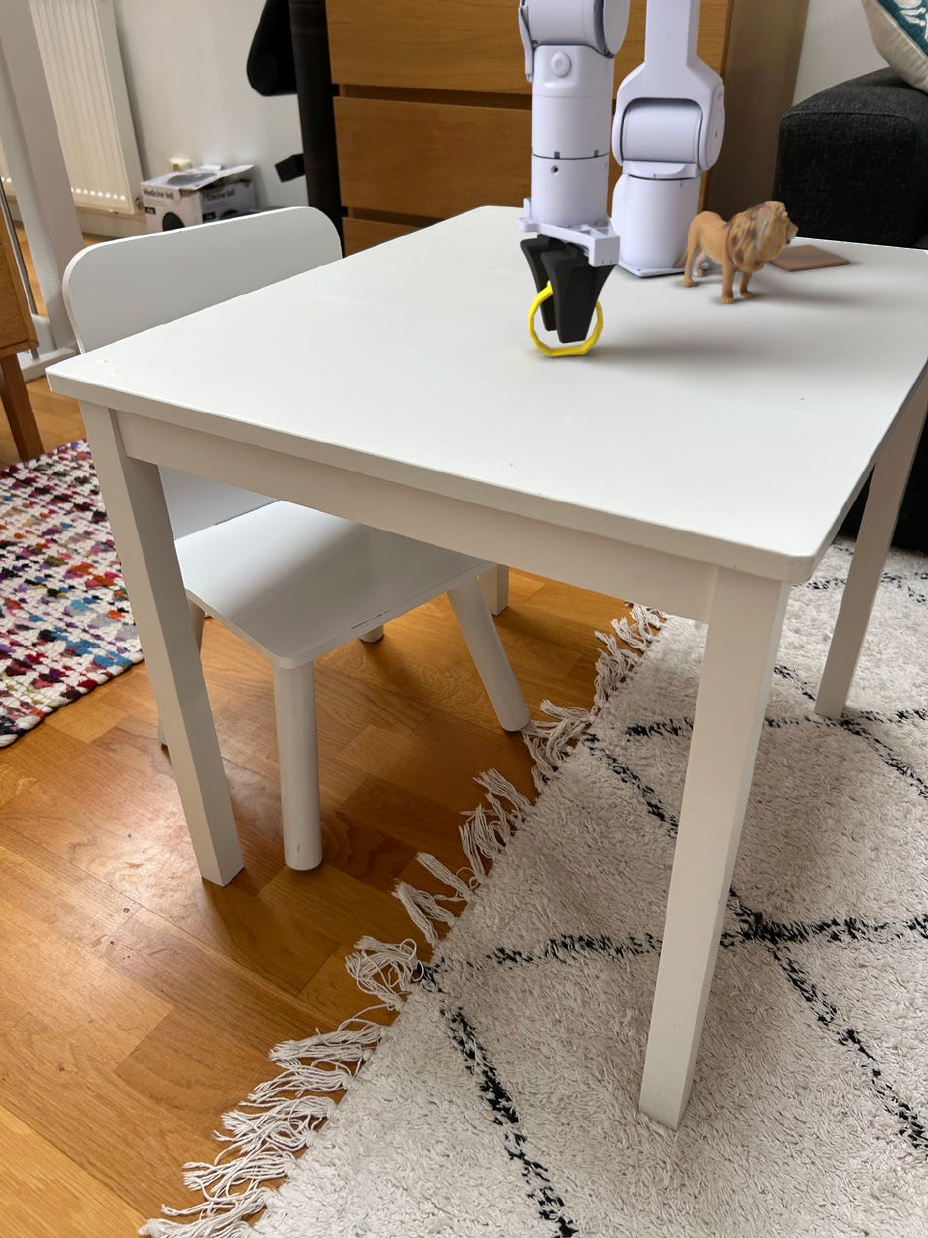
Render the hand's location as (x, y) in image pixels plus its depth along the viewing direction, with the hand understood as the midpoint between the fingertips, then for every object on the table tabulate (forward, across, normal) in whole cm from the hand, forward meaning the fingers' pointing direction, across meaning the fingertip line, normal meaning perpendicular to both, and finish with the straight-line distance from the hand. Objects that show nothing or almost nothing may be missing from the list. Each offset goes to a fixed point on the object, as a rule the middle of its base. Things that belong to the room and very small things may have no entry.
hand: (564, 334), depth 79 cm
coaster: (+2, -17, +34) cm, 38 cm away
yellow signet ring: (+2, 0, 0) cm, 2 cm away
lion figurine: (+2, -10, +21) cm, 23 cm away
